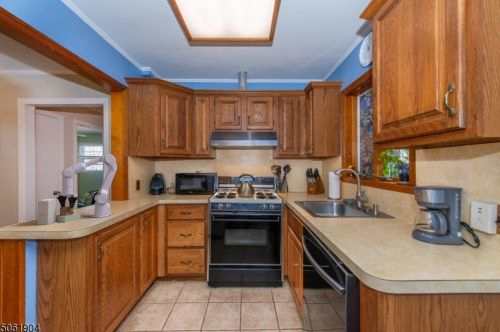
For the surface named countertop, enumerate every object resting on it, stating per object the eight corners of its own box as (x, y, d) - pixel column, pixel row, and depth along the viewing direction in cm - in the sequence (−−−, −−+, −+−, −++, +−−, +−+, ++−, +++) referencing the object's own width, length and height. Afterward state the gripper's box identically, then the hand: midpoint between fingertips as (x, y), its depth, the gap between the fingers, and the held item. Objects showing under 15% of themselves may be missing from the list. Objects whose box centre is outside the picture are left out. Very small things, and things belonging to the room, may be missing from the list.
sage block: (69, 218, 164) (69, 212, 164) (80, 220, 161) (80, 214, 161) (53, 221, 154) (53, 215, 154) (64, 223, 151) (64, 216, 151)
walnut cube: (67, 213, 161) (67, 206, 160) (73, 214, 159) (73, 206, 159) (59, 215, 156) (59, 207, 156) (65, 215, 154) (65, 207, 154)
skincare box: (46, 221, 152) (46, 198, 152) (56, 221, 153) (57, 198, 153) (36, 225, 144) (37, 200, 144) (48, 224, 145) (48, 200, 145)
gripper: (52, 186, 156) (52, 207, 156) (69, 187, 152) (69, 209, 152) (63, 185, 162) (63, 206, 162) (80, 186, 158) (80, 207, 159)
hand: (67, 207), depth 158 cm, fingers open, 7 cm apart
